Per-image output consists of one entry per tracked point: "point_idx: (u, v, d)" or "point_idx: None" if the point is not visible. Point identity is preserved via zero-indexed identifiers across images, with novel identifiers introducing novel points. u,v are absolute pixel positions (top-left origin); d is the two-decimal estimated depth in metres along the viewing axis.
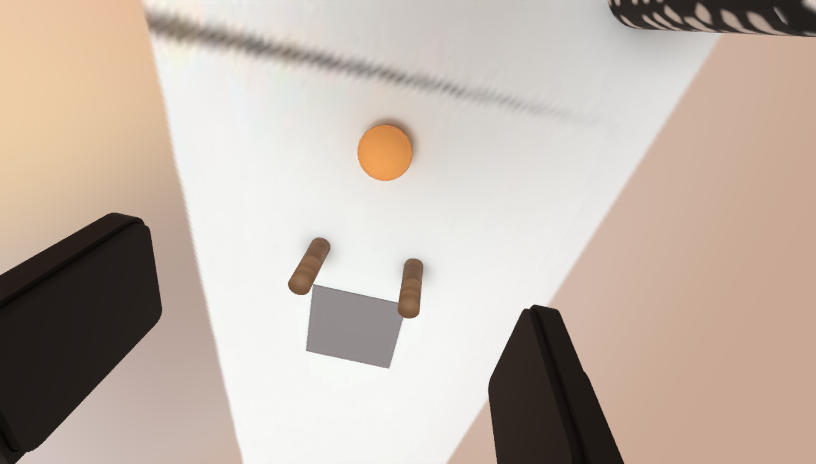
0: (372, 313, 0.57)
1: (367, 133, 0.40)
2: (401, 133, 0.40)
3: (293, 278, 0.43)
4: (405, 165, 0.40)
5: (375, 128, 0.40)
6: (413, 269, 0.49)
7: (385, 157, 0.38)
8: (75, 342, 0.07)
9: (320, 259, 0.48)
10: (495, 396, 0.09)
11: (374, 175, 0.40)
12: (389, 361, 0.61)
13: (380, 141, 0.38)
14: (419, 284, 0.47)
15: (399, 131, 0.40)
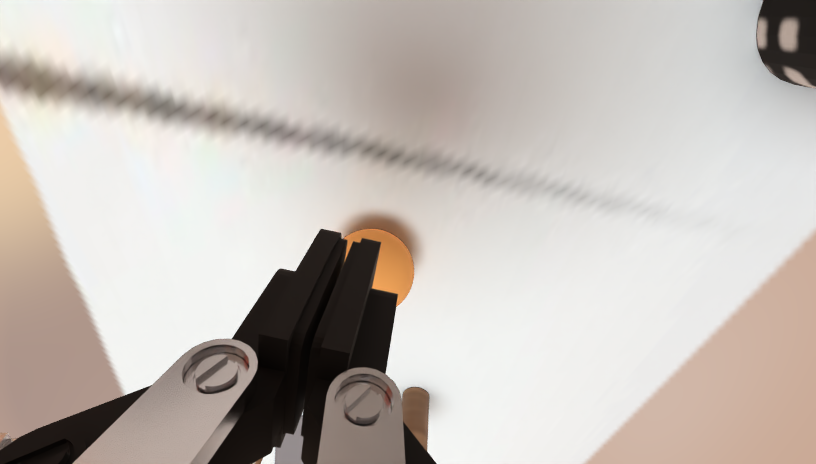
0: None
1: None
2: (396, 247, 0.25)
3: None
4: (402, 296, 0.25)
5: (354, 239, 0.24)
6: (415, 410, 0.34)
7: None
8: None
9: None
10: None
11: None
12: None
13: None
14: (424, 441, 0.32)
15: (393, 243, 0.25)
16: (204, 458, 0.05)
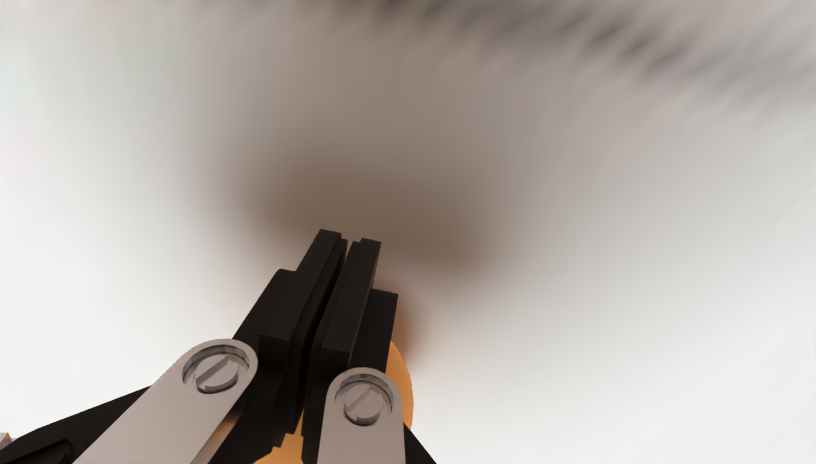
0: None
1: None
2: None
3: None
4: None
5: None
6: None
7: None
8: None
9: None
10: None
11: None
12: None
13: None
14: None
15: None
16: (204, 459, 0.05)
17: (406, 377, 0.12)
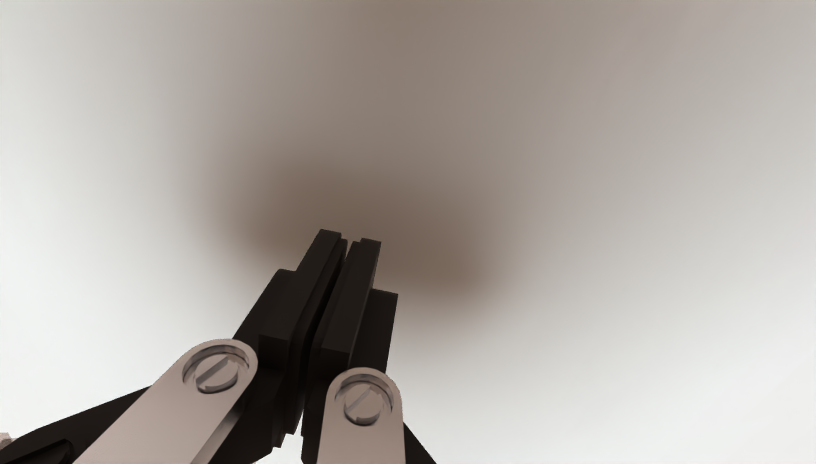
0: None
1: None
2: None
3: None
4: None
5: None
6: None
7: None
8: None
9: None
10: None
11: None
12: None
13: None
14: None
15: None
16: (204, 458, 0.05)
17: None
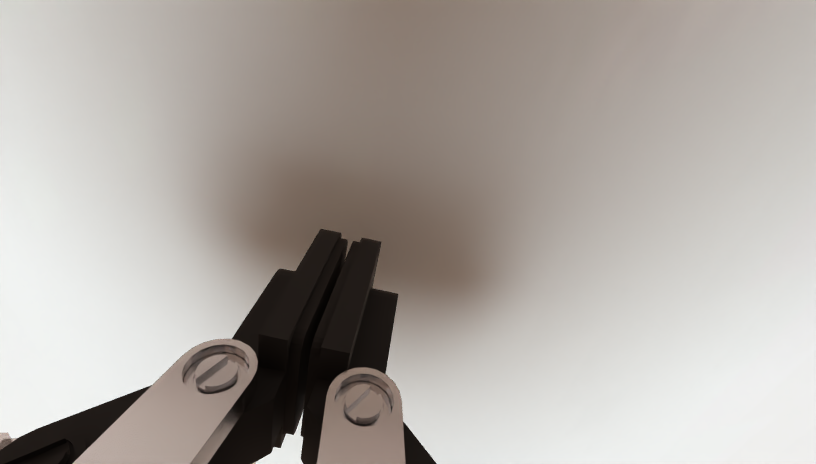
0: None
1: None
2: None
3: None
4: None
5: None
6: None
7: None
8: None
9: None
10: None
11: None
12: None
13: None
14: None
15: None
16: (204, 458, 0.05)
17: None
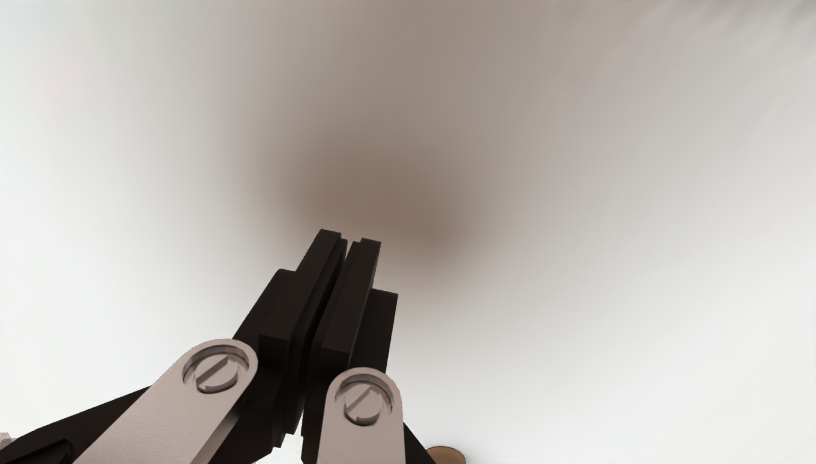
0: None
1: None
2: None
3: None
4: None
5: None
6: None
7: None
8: None
9: None
10: None
11: None
12: None
13: None
14: None
15: None
16: (204, 458, 0.05)
17: None
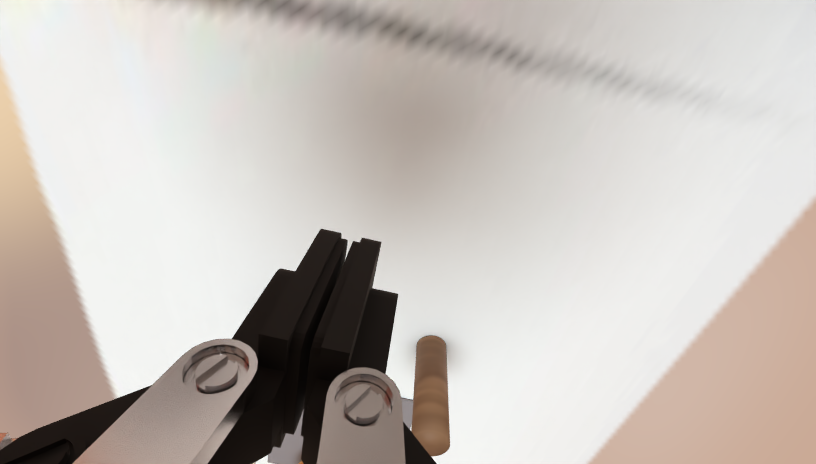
0: None
1: (300, 462, 0.39)
2: None
3: None
4: None
5: None
6: (433, 356, 0.30)
7: None
8: None
9: None
10: None
11: None
12: None
13: None
14: (445, 387, 0.28)
15: None
16: (204, 458, 0.05)
17: None
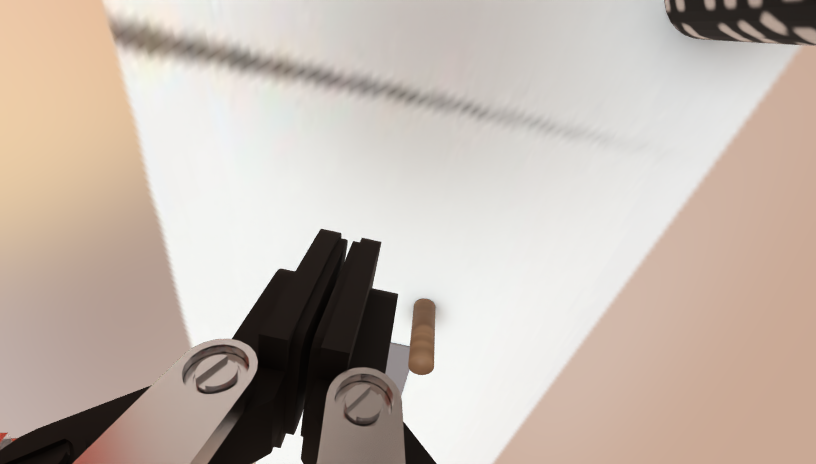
0: None
1: None
2: None
3: None
4: None
5: None
6: (425, 312, 0.43)
7: None
8: None
9: None
10: None
11: None
12: None
13: None
14: (432, 332, 0.41)
15: None
16: (204, 458, 0.05)
17: None
